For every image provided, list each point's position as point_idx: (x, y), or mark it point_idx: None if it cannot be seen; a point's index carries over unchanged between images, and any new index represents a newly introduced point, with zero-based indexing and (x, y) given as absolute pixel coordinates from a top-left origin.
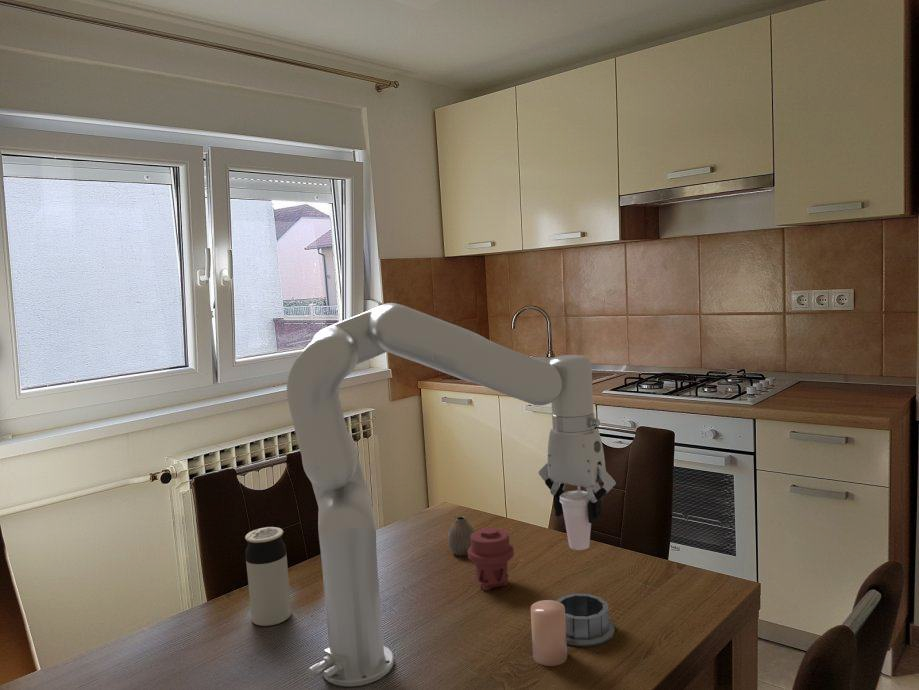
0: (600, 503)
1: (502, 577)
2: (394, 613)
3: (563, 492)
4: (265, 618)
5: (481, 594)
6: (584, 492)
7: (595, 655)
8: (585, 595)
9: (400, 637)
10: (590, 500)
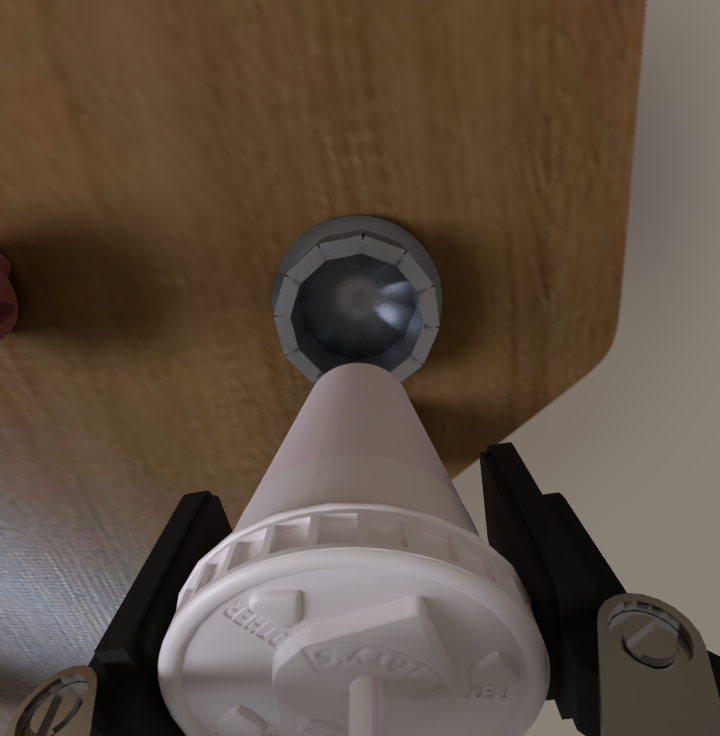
0: (617, 585)
1: (3, 299)
2: (17, 533)
3: (133, 674)
4: None
5: (28, 351)
6: (331, 582)
7: (453, 364)
8: (320, 261)
9: (124, 569)
10: (565, 699)
